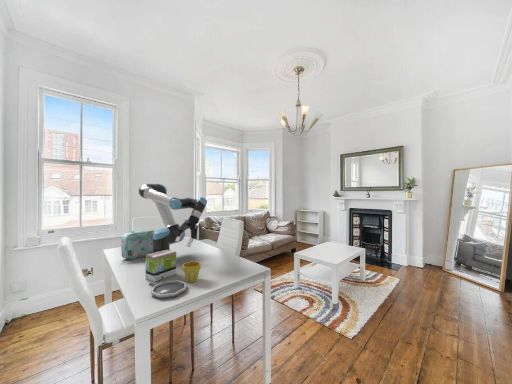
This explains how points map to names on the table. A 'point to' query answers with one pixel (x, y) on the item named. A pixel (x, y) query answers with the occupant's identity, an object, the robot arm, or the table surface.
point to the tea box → (160, 265)
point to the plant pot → (191, 271)
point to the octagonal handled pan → (168, 289)
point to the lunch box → (137, 244)
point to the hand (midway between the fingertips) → (182, 244)
